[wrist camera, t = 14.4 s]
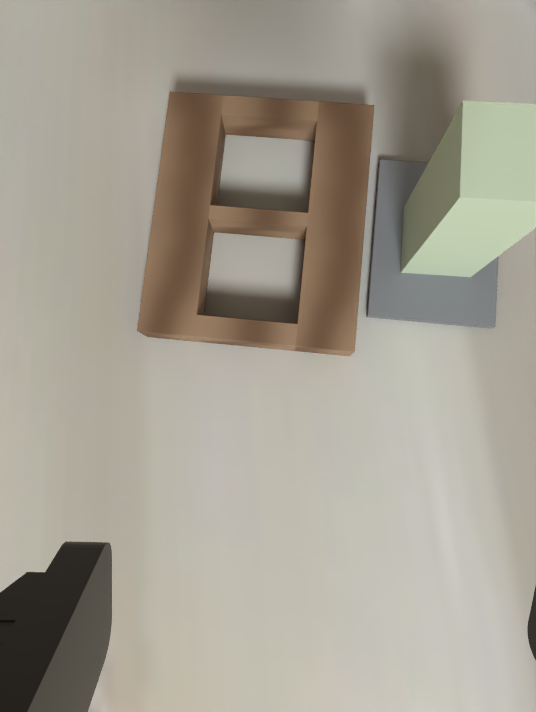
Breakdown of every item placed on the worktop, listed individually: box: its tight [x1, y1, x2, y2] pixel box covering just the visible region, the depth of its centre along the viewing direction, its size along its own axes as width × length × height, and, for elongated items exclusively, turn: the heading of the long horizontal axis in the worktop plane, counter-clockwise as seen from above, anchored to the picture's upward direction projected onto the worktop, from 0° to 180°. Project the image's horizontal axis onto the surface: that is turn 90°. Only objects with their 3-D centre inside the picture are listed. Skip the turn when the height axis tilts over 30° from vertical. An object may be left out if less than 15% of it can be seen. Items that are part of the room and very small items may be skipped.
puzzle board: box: [137, 92, 374, 356], centre depth 35 cm, size 15×18×2 cm
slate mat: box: [367, 159, 498, 328], centre depth 35 cm, size 9×12×1 cm
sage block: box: [401, 101, 536, 277], centre depth 29 cm, size 5×5×12 cm
